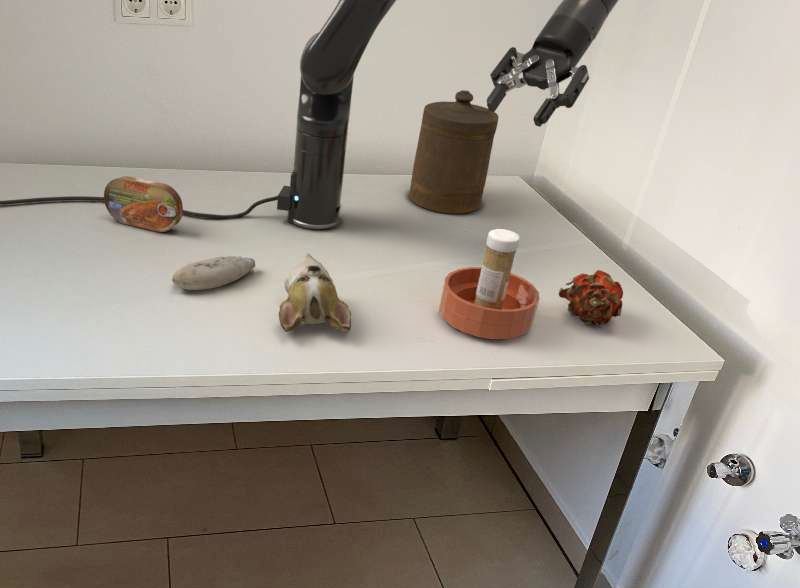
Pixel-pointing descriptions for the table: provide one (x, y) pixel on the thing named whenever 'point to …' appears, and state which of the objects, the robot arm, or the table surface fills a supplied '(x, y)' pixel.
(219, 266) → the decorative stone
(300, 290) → the ceramic sculpture
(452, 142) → the wooden container
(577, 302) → the dragon fruit
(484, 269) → the sprinkles bottle
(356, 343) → the table surface
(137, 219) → the tin
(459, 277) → the bowl
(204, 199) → the table surface
